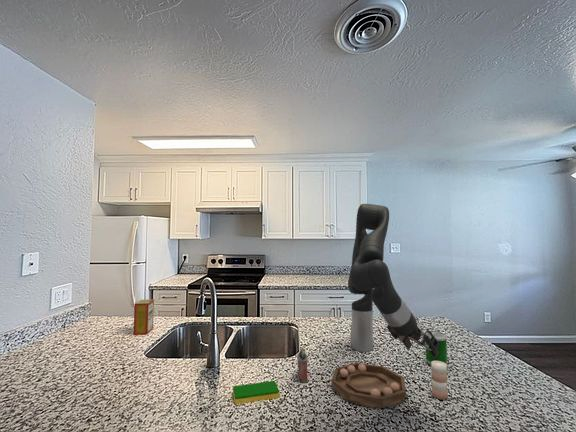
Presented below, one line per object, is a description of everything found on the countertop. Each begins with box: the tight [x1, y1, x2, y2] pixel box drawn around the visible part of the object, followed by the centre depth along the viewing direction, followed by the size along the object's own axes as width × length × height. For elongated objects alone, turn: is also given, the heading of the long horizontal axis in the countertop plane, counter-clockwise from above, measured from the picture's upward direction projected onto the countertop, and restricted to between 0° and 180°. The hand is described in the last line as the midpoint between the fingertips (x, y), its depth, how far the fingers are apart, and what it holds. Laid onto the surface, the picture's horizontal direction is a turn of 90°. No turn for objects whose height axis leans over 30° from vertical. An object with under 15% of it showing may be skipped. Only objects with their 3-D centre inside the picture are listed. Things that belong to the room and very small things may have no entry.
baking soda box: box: [132, 299, 155, 336], centre depth 157 cm, size 10×6×16 cm
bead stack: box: [430, 361, 449, 401], centre depth 96 cm, size 4×4×10 cm
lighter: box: [297, 346, 309, 384], centre depth 107 cm, size 8×3×10 cm, turn 5°
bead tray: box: [331, 362, 407, 409], centre depth 100 cm, size 23×23×3 cm
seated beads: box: [340, 363, 400, 397], centre depth 100 cm, size 20×11×3 cm, turn 27°
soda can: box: [425, 330, 448, 366], centre depth 119 cm, size 8×8×12 cm
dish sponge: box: [232, 380, 280, 405], centre depth 96 cm, size 7×14×2 cm, turn 106°
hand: (422, 350), depth 92 cm, fingers open, 8 cm apart
